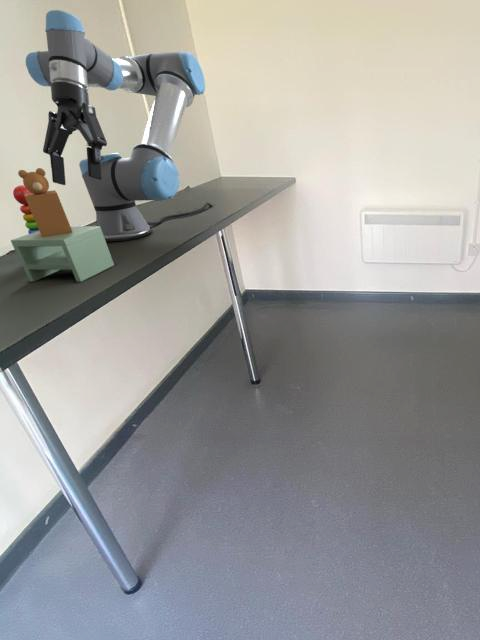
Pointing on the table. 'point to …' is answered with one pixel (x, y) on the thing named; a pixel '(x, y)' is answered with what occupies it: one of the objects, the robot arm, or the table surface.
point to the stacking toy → (25, 208)
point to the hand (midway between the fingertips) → (76, 181)
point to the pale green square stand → (64, 253)
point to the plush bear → (44, 204)
